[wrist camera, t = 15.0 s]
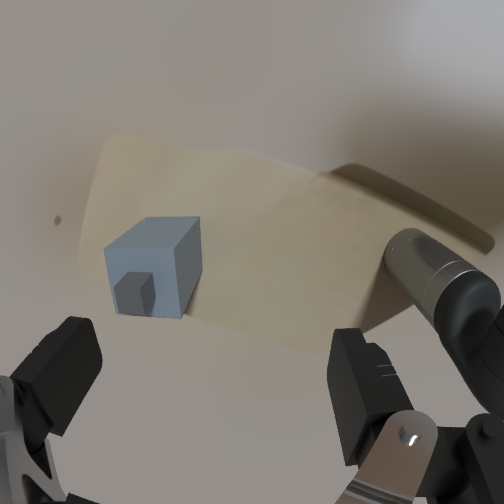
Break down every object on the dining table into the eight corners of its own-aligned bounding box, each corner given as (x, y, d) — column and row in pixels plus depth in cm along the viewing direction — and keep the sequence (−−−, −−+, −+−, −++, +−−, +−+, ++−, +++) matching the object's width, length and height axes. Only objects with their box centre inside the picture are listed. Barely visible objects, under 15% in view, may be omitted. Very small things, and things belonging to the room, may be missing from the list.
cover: (199, 216, 45) (162, 263, 28) (202, 269, 48) (172, 338, 30) (146, 217, 45) (86, 261, 28) (151, 268, 48) (102, 332, 31)
